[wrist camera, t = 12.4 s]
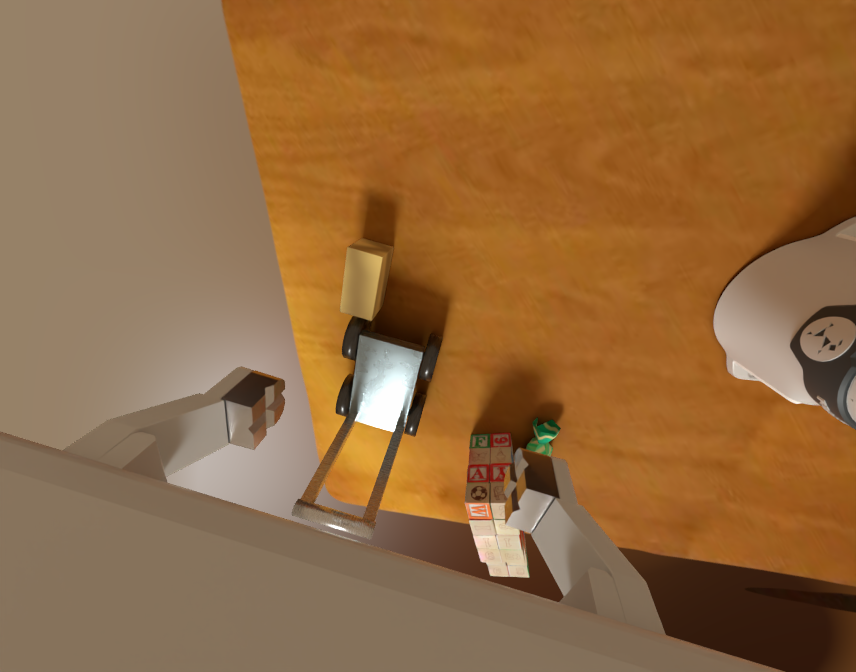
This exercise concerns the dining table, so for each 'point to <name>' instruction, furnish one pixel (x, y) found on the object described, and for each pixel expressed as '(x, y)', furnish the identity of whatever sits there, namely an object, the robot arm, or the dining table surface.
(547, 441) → the candy
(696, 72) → the dining table surface
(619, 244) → the dining table surface
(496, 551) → the stack of blocks
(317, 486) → the trolley
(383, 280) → the block
